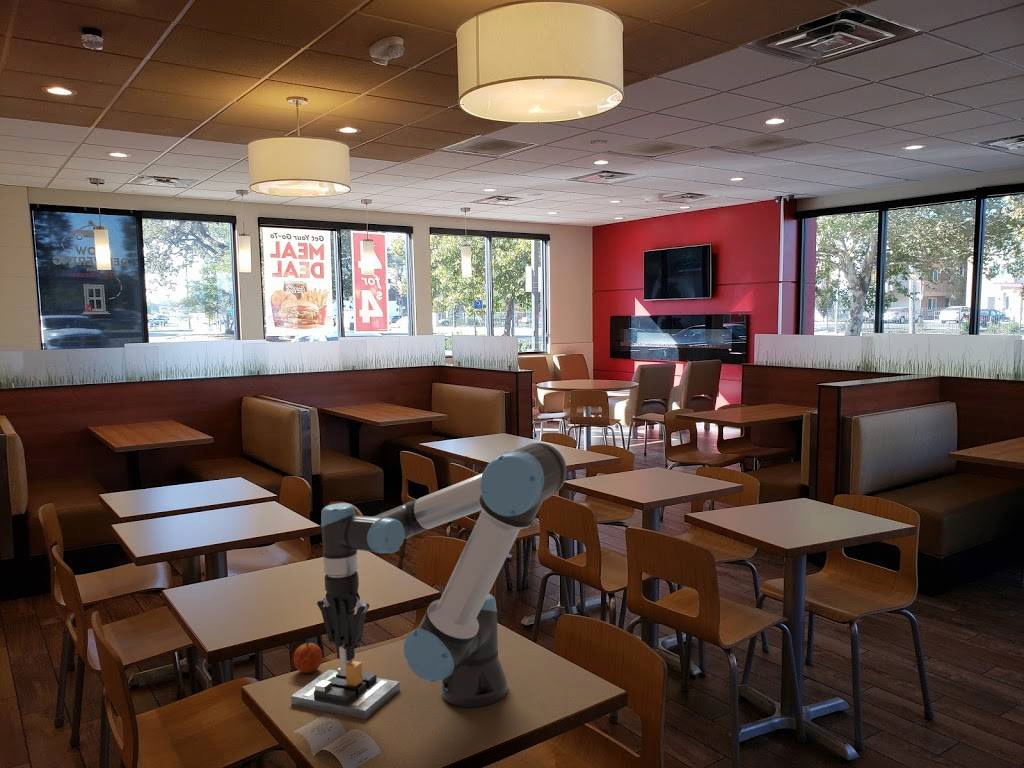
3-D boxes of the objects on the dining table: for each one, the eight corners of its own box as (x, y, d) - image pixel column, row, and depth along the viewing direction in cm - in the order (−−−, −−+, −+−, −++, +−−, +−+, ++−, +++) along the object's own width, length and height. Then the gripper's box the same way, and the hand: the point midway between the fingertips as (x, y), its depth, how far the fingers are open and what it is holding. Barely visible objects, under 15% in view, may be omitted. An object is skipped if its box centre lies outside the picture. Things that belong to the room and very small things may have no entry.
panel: (399, 689, 175) (398, 670, 175) (365, 719, 163) (364, 698, 162) (329, 677, 183) (328, 658, 183) (291, 704, 171) (290, 684, 170)
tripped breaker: (362, 681, 172) (361, 662, 172) (356, 686, 170) (355, 667, 170) (353, 679, 173) (352, 660, 173) (346, 684, 171) (345, 665, 171)
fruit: (295, 667, 190) (293, 636, 189) (323, 663, 191) (321, 633, 191) (293, 679, 183) (291, 647, 182) (322, 675, 184) (321, 644, 184)
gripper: (374, 569, 171) (380, 669, 173) (327, 564, 177) (333, 661, 178) (355, 580, 165) (361, 684, 166) (307, 574, 170) (313, 675, 171)
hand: (346, 672), depth 172 cm, fingers closed
